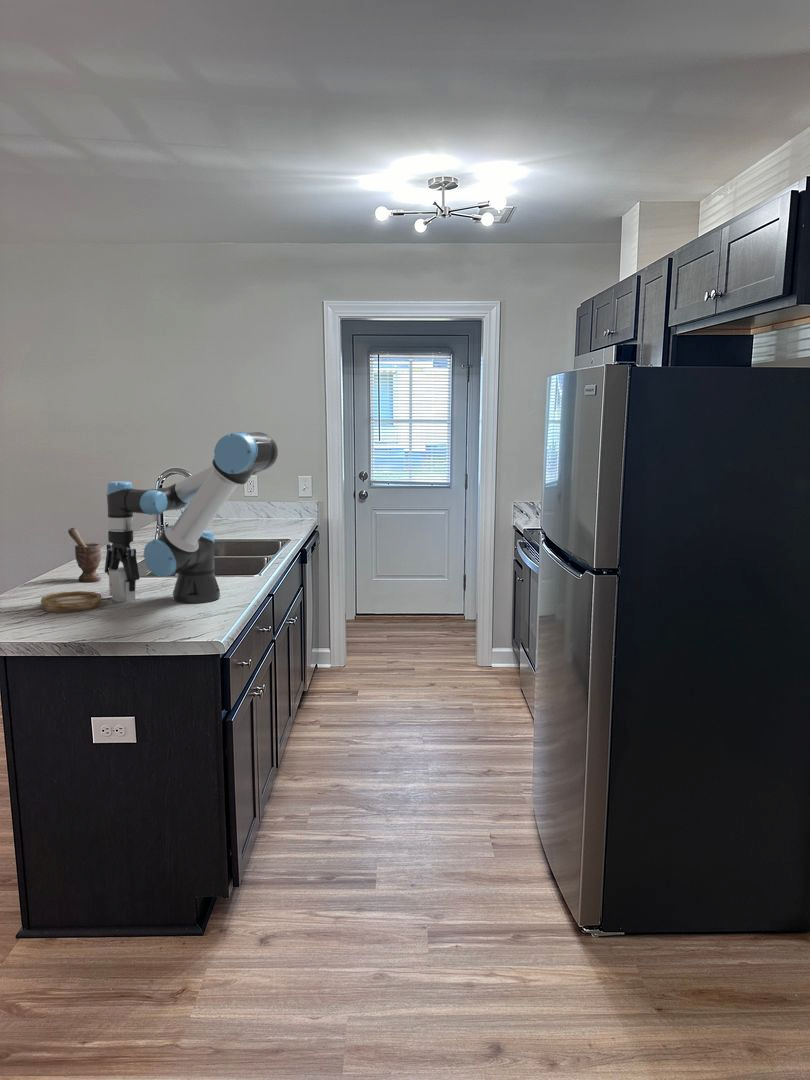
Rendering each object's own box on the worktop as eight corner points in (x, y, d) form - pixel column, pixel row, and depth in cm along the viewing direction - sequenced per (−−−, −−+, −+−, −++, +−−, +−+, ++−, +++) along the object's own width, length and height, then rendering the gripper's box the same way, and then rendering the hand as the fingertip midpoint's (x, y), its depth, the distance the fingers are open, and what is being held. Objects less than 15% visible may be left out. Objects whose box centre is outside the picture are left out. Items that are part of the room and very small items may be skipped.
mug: (136, 604, 243) (135, 573, 241) (107, 605, 240) (106, 574, 239) (137, 596, 254) (136, 566, 252) (110, 597, 251) (109, 567, 250)
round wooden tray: (111, 606, 239) (111, 597, 239) (57, 615, 226) (57, 606, 226) (84, 597, 250) (84, 588, 250) (32, 605, 237) (31, 597, 237)
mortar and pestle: (89, 585, 268) (87, 529, 265) (66, 584, 269) (64, 528, 266) (106, 578, 279) (104, 524, 276) (84, 577, 280) (82, 523, 277)
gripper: (150, 533, 239) (151, 602, 243) (113, 524, 253) (115, 590, 257) (128, 535, 234) (130, 606, 237) (91, 526, 248) (93, 593, 251)
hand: (122, 597), depth 247 cm, fingers closed on mug, 10 cm apart
